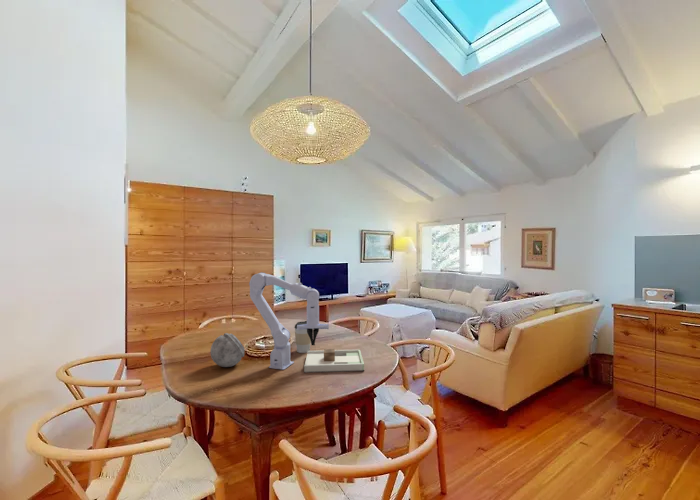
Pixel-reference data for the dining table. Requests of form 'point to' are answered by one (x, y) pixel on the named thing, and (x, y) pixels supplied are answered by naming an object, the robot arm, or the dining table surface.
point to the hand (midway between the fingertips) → (313, 344)
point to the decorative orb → (227, 350)
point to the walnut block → (329, 354)
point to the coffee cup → (302, 339)
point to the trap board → (342, 363)
